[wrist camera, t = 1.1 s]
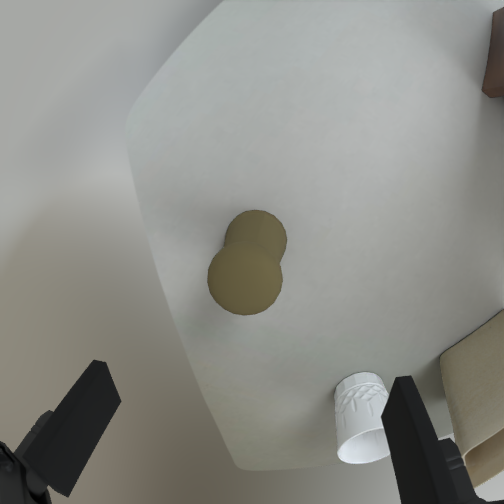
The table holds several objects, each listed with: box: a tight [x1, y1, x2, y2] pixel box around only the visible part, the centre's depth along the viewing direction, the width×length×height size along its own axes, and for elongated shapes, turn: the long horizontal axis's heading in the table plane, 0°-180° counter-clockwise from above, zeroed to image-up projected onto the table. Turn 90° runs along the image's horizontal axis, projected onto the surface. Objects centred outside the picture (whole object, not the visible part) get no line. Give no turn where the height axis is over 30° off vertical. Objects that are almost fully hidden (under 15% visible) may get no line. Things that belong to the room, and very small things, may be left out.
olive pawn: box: [208, 210, 287, 315], centre depth 24 cm, size 6×6×11 cm
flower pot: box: [440, 309, 504, 488], centre depth 24 cm, size 19×19×17 cm
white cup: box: [334, 372, 390, 464], centre depth 30 cm, size 8×8×10 cm
